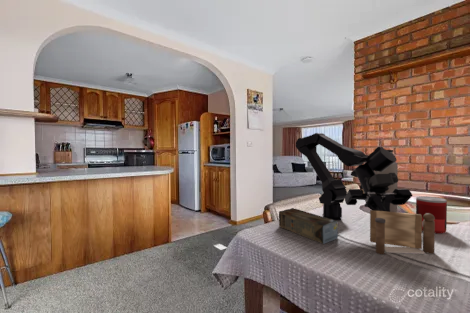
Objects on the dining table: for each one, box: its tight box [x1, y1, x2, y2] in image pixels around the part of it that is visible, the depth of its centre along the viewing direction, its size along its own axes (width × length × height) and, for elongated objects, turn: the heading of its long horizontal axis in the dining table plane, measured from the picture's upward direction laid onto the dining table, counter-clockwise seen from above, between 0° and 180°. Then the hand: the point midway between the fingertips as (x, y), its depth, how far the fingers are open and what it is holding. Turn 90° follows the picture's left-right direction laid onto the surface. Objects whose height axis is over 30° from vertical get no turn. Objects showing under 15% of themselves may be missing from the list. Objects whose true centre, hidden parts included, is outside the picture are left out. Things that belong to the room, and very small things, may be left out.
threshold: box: [385, 246, 425, 255], centre depth 62 cm, size 10×3×1 cm, turn 84°
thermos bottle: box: [375, 149, 399, 212], centre depth 96 cm, size 8×8×28 cm
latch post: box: [375, 218, 386, 255], centre depth 61 cm, size 2×2×9 cm
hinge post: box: [422, 213, 436, 255], centre depth 61 cm, size 2×2×11 cm
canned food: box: [415, 195, 448, 235], centre depth 77 cm, size 8×8×11 cm
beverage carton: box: [278, 207, 339, 244], centre depth 77 cm, size 8×19×7 cm, turn 33°
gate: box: [369, 209, 423, 250], centre depth 64 cm, size 12×1×9 cm, turn 66°
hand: (388, 220), depth 67 cm, fingers closed
